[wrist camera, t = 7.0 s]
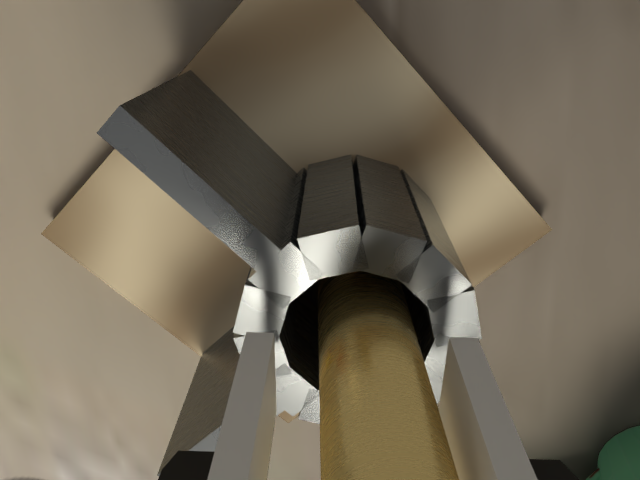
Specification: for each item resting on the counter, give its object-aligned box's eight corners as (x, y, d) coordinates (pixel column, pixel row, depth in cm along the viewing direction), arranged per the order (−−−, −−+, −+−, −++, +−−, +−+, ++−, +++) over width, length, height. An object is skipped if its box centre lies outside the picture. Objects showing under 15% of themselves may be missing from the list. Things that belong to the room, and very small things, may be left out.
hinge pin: (383, 271, 23) (459, 575, 11) (316, 271, 23) (320, 575, 11) (389, 209, 21) (482, 479, 10) (317, 208, 21) (323, 480, 10)
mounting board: (541, 218, 23) (552, 229, 22) (290, 406, 28) (288, 423, 27) (301, -61, 18) (299, -65, 17) (54, 222, 23) (40, 234, 22)
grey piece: (472, 243, 22) (528, 343, 16) (265, 401, 26) (243, 531, 20) (248, 4, 18) (201, 7, 12) (47, 234, 22) (-67, 328, 16)
